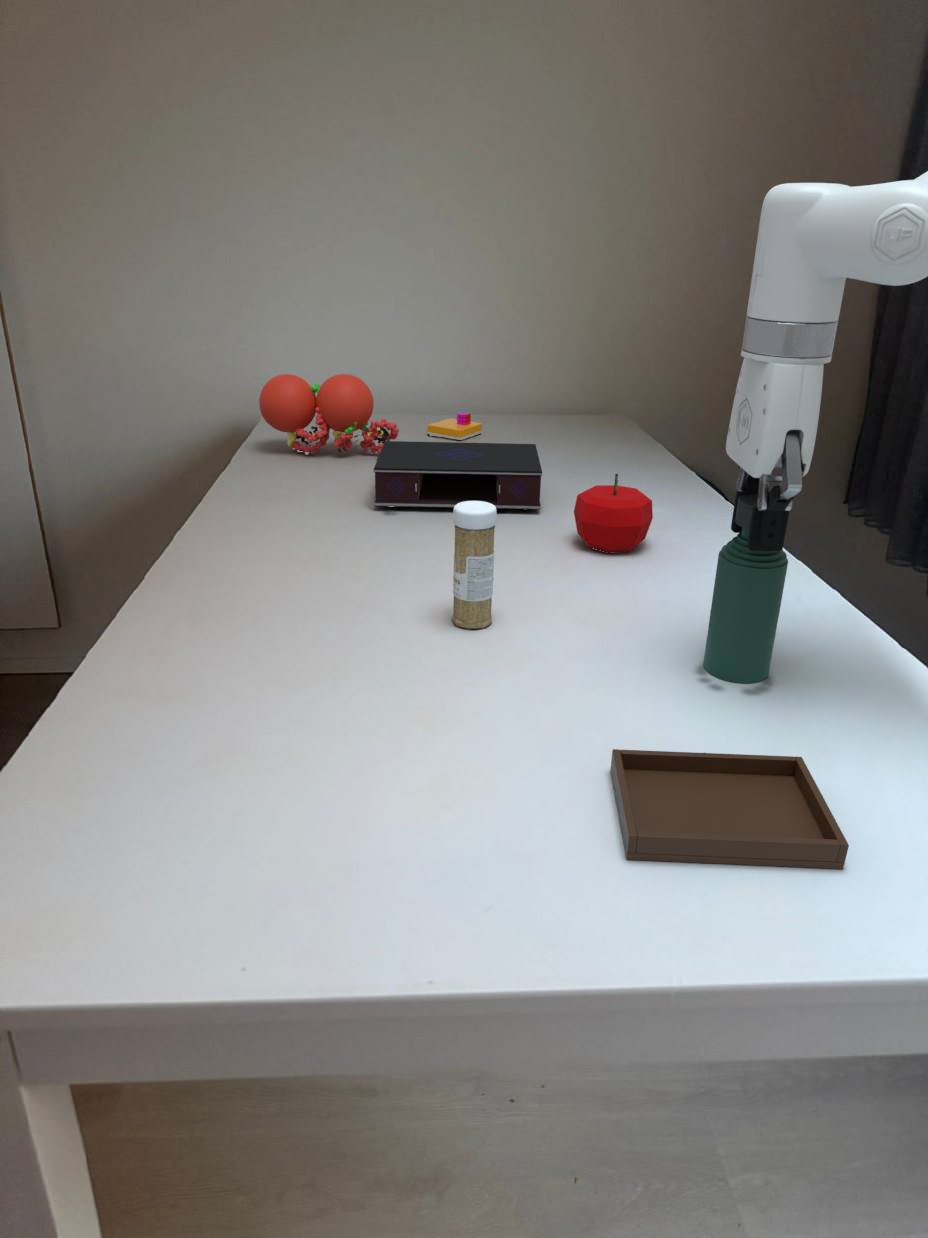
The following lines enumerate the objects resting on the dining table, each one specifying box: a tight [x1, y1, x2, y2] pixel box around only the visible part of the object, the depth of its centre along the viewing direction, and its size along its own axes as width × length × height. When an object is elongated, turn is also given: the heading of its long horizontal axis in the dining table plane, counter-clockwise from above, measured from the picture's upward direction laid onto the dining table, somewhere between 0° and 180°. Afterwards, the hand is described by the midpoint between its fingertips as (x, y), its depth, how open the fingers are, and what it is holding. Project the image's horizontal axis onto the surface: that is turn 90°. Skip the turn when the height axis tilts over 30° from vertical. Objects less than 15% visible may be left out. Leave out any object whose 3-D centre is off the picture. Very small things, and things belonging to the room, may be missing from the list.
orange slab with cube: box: [426, 412, 483, 438], centre depth 183 cm, size 8×8×4 cm
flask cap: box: [735, 494, 758, 529], centre depth 85 cm, size 4×4×2 cm
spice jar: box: [451, 501, 498, 629], centre depth 98 cm, size 5×5×13 cm
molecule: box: [258, 373, 400, 455], centre depth 165 cm, size 25×11×15 cm, turn 88°
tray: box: [609, 748, 850, 870], centre depth 69 cm, size 15×11×2 cm
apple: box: [573, 473, 654, 554], centre depth 122 cm, size 11×11×10 cm
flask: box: [702, 527, 789, 684], centre depth 88 cm, size 6×6×17 cm
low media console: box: [373, 440, 543, 510], centre depth 143 cm, size 17×25×7 cm
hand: (755, 538), depth 86 cm, fingers closed on flask cap, 4 cm apart
